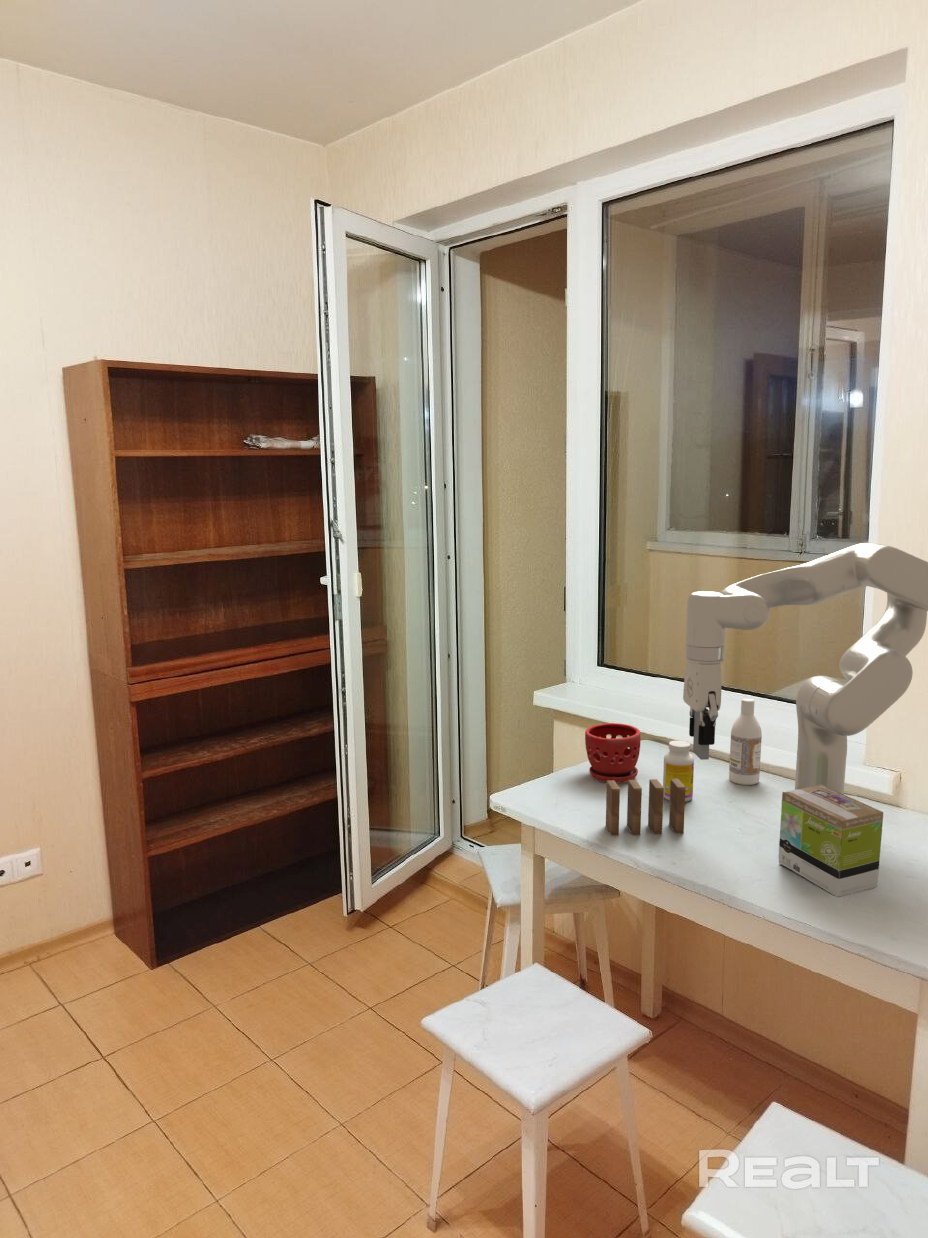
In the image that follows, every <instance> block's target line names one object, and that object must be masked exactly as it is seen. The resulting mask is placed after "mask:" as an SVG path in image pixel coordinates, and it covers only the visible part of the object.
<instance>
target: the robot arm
mask: <svg viewBox="0 0 928 1238" xmlns="http://www.w3.org/2000/svg"><path fill="white" fill-rule="evenodd" d="M865 587H870V588H874V589H876V590H877V589H878V590H880V591H882V592H884V593H886V595H887V596H886V598H887V601H886V606H885V607H886V608H885V609H884V613H883V615H882V616H881V617H880V619H879V620H878V621H877V622H876V623H875V624H873V626H872V627H871V628H869V630H868V631H867V632H865V633H864V634H863V635H862V636H861V637H860V638H859V639H857V641H856V642H854V644H852V645H851V646H849V648H848V649H847V650H846V651H845V652H844V653H843V654H842V656H841V658H840V660H839V663H838V664H839V665H838V666H839V667H838V668H839V672H840V673H841V675H842V677H844V679H845V680H847V682H846V683H844V682H842V681H841V680H839V679H836V678H834V677H832V676H831V677H830V676H826V675H816V676H812V677H809V678H807V679H806V680H805V681H803V683H801V685H800V686H799V688H798V691H797V694H796V699H795V700H796V701H795V706H796V717H797V718H796V719H797V732H798V733H797V750H796V762H795V766H796V767H795V778H794V779H795V782H794V790H797V789H802V788H807V787H811V786H816V785H820V784H821V785H824V786H826V787H828V788H830V789H833V790H835V791H837V792H839V793H841V794H844V793H845V780H846V767H847V766H846V765H847V756H848V755H847V754H848V737H852V736H854V735H857V734H859V733H861V732H862V731H864V730H866V728H868V727H869V726H870V725H871V724H873V723H874V722H875V721H877V719H878V718H879V717H881V716H882V715H883V714H884V713H885V712H886V711H887V710H889V708H891V707H892V706H893V705H894V704H895V703H896V702H898V700H899V699H900V698H901V697H903V695H904V694H905V693H906V691H907V690H908V688H909V687H910V685H911V682H912V680H913V674H914V673H913V665H912V664H911V662H910V660H909V659H908V657H907V656H908V654H910V652H911V651H913V649H914V648H915V647H916V646H917V645H919V643H920V641H921V640H922V639H923V636H924V634H925V632H926V626H927V619H928V618H927V616H928V561H927V560H925V559H921V558H919V557H917V556H915V555H913V554H910V553H908V552H905V551H903V550H901V549H899V548H896V547H893V546H890V545H885V544H878V543H873V542H863V543H862V542H861V543H858V544H854V545H851V546H848V547H846V548H843V549H840V550H838V551H835V552H833V553H829V554H828V555H827V554H826V555H824V556H821V557H818V558H816V559H814V560H811V561H808V562H804V563H801V564H798V565H794V566H791V567H786V568H782V569H778V570H775V571H771V572H767V573H762V574H758V575H755V576H752V577H750V578H746V579H743V580H741V581H738V582H736V583H733V584H730V585H729V586H727V587H725V588H724V589H722V590H721V591H720V592H717V591H712V590H711V591H708V590H706V591H705V590H701V591H693V592H691V593H690V594H689V595H688V596H687V601H686V602H687V604H686V606H687V607H686V633H685V635H686V636H685V661H686V663H685V670H684V682H683V693H682V694H683V696H682V699H683V701H684V703H685V704H686V705H688V706H689V707H690V708H689V728H688V729H689V730H688V731H689V732H688V734H689V737H693V738H694V711H696V712H700V722H701V725H699V732H698V744H699V745H709V746H712V745H715V743H716V742H715V740H716V739H715V738H716V725H717V724H716V723H717V721H716V720H717V719H718V717H719V712H718V711H720V710H721V707H722V705H721V704H722V667H721V666H722V665H721V664H722V663H724V661H725V648H726V647H725V643H726V641H725V640H726V629H732V630H733V629H734V630H741V631H755V630H757V629H759V628H761V627H763V626H764V625H766V623H767V622H768V620H769V619H770V616H771V609H772V608H776V607H783V606H813V605H819V604H822V603H825V602H827V601H829V600H832V599H836V598H838V597H841V596H844V595H846V594H849V593H851V592H854V591H856V590H860V589H863V588H865ZM705 708H707V709H708V710H704V709H705ZM704 713H709V715H707V716H706V717H705V715H704ZM844 795H845V794H844Z"/></svg>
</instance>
